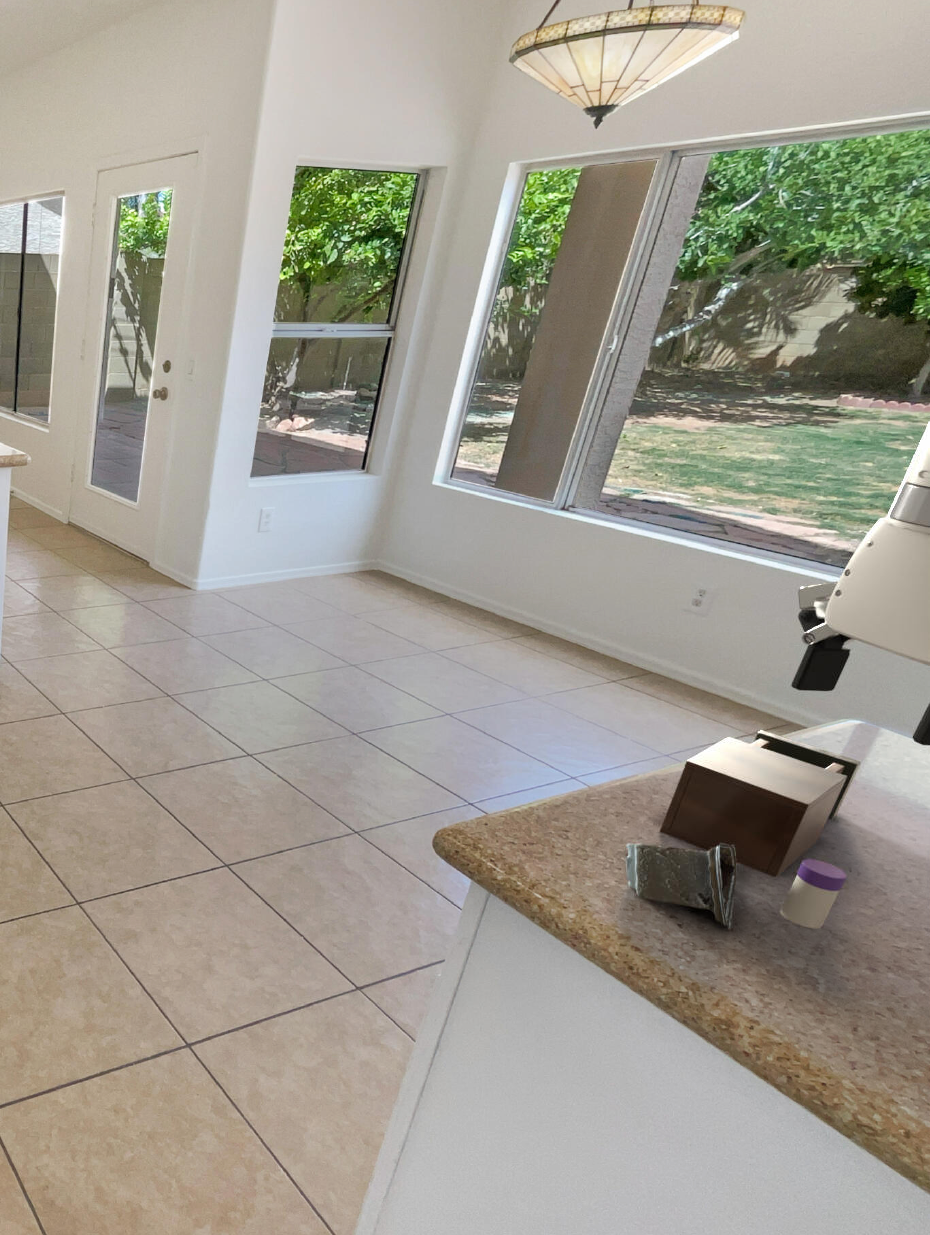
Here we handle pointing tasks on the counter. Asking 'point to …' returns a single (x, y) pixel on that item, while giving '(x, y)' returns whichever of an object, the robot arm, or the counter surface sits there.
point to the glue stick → (813, 893)
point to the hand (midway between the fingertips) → (869, 714)
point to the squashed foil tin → (685, 876)
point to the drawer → (811, 759)
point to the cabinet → (752, 804)
